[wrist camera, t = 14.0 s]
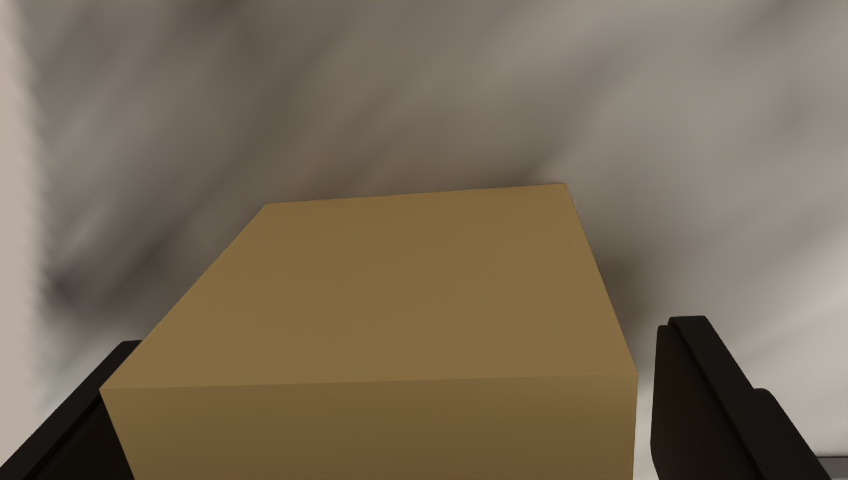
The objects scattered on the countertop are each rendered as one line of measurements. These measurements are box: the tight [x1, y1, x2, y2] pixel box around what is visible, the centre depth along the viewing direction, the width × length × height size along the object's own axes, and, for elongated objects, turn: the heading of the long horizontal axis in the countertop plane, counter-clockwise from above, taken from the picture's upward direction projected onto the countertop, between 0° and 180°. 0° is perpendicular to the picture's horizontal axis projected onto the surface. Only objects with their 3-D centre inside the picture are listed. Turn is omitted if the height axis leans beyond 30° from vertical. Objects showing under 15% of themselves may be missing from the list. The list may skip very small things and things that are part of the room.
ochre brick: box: [99, 183, 638, 480], centre depth 10 cm, size 6×6×6 cm
